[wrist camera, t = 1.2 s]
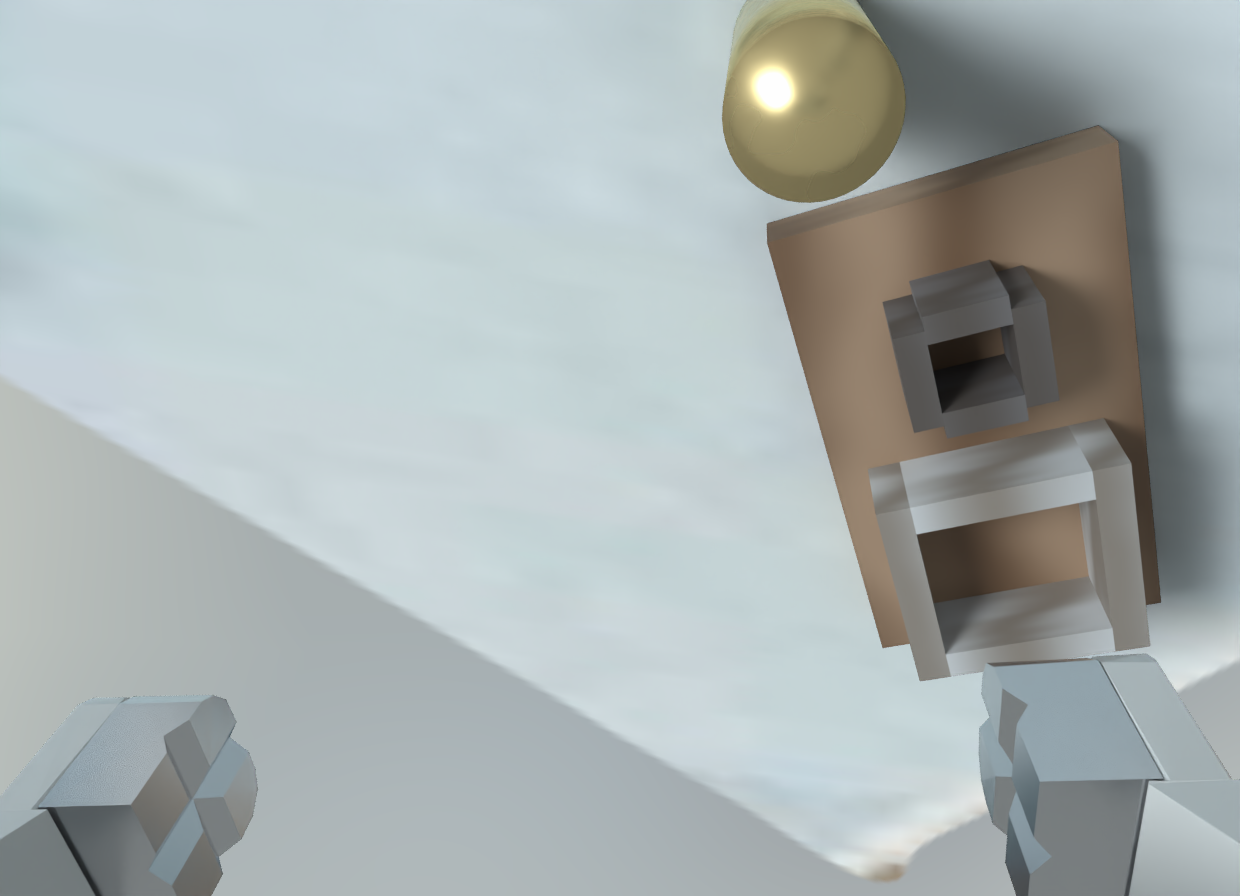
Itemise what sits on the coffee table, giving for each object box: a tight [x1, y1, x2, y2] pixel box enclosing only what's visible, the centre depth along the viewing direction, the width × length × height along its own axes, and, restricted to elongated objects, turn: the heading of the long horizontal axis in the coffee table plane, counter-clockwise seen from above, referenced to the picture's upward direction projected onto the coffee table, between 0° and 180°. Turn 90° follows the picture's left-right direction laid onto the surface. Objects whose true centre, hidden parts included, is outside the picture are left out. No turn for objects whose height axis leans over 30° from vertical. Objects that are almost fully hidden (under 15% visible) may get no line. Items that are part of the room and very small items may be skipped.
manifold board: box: [767, 125, 1161, 681], centre depth 35 cm, size 11×19×5 cm, turn 20°
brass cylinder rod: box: [722, 0, 906, 203], centre depth 26 cm, size 4×4×10 cm
